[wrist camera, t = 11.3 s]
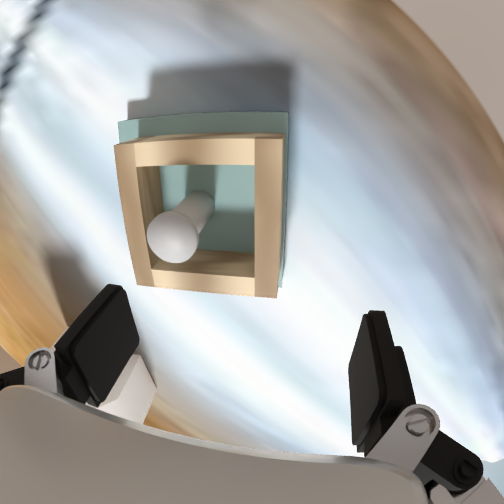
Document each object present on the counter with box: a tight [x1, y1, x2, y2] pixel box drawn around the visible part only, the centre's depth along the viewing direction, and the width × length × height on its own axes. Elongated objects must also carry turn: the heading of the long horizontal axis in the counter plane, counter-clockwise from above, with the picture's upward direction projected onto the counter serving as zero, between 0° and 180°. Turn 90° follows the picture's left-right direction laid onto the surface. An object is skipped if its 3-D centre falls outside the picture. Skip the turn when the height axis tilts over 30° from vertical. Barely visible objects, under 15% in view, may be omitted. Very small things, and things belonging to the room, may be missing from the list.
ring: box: [114, 132, 285, 298], centre depth 21 cm, size 11×11×4 cm
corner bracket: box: [50, 327, 157, 424], centre depth 32 cm, size 11×11×12 cm
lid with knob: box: [118, 112, 289, 288], centre depth 21 cm, size 13×14×8 cm
